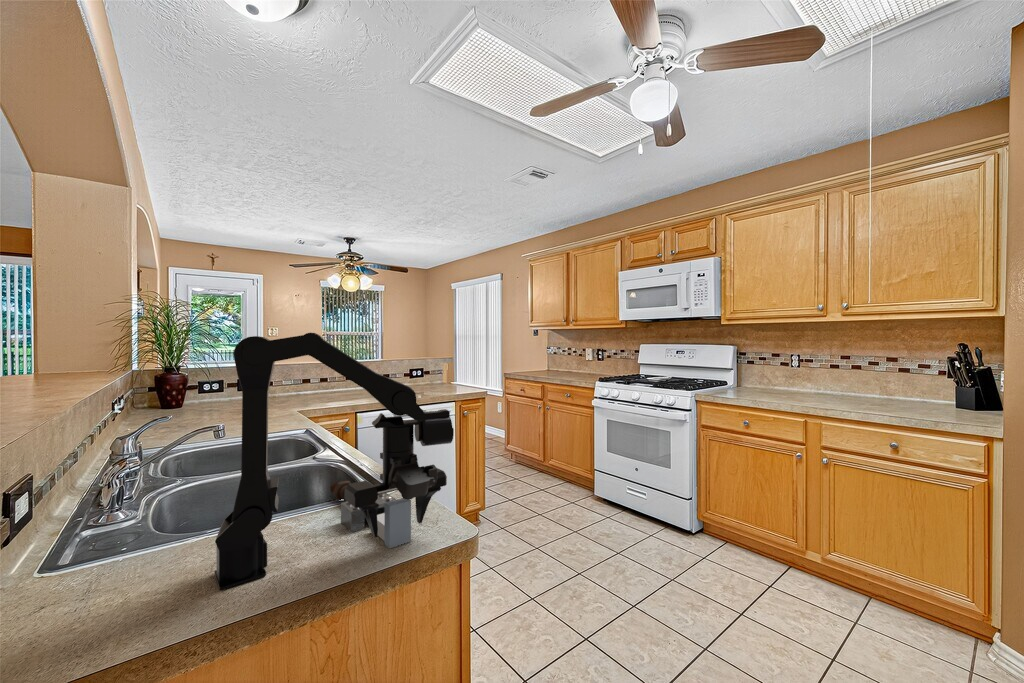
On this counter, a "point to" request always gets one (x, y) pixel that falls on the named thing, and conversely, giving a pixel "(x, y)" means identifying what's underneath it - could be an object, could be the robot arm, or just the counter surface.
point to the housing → (360, 513)
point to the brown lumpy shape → (339, 489)
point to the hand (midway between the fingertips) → (398, 529)
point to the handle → (395, 523)
